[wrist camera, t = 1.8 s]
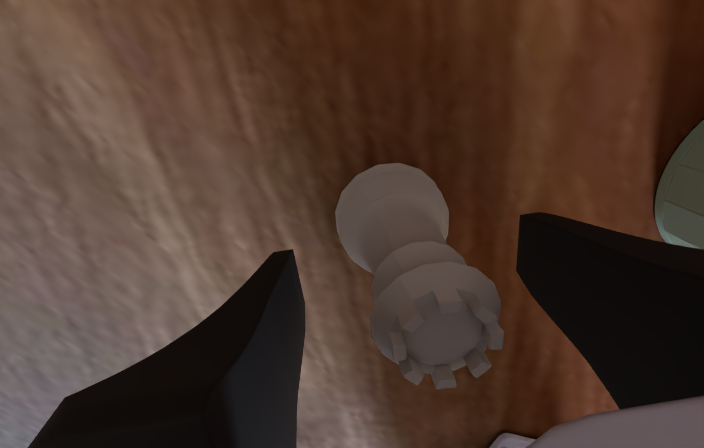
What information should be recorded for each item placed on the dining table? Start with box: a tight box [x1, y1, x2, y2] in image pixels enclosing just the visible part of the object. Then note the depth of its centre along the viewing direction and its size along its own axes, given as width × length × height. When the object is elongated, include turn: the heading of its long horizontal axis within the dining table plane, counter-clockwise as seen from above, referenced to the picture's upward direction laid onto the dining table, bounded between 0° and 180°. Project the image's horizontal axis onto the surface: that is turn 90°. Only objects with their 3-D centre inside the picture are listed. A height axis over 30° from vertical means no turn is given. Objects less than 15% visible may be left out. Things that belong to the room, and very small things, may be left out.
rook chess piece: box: [335, 163, 504, 390], centre depth 12 cm, size 4×4×8 cm
